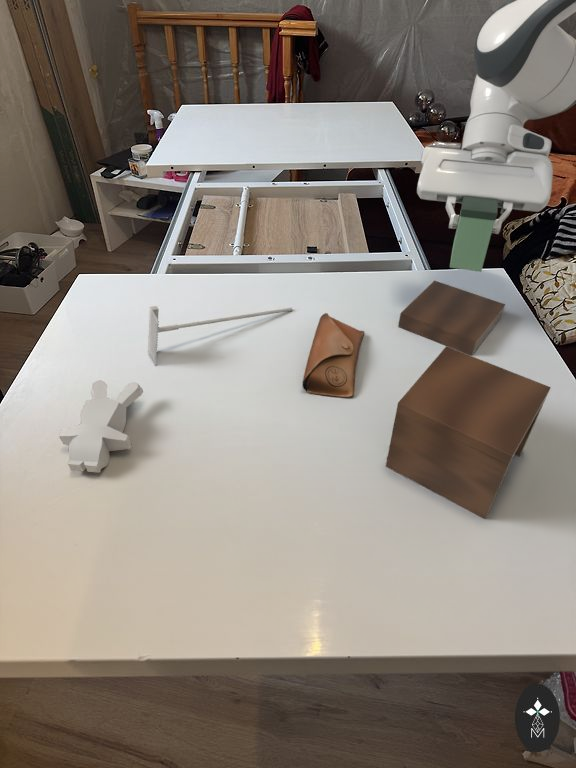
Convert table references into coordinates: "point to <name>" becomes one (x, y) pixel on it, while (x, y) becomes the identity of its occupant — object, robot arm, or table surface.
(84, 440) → the white musician cutout
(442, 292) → the lower shelf
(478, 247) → the green lidded box
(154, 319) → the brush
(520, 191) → the robot arm
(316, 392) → the sunglasses case
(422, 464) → the upper shelf
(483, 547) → the table surface
